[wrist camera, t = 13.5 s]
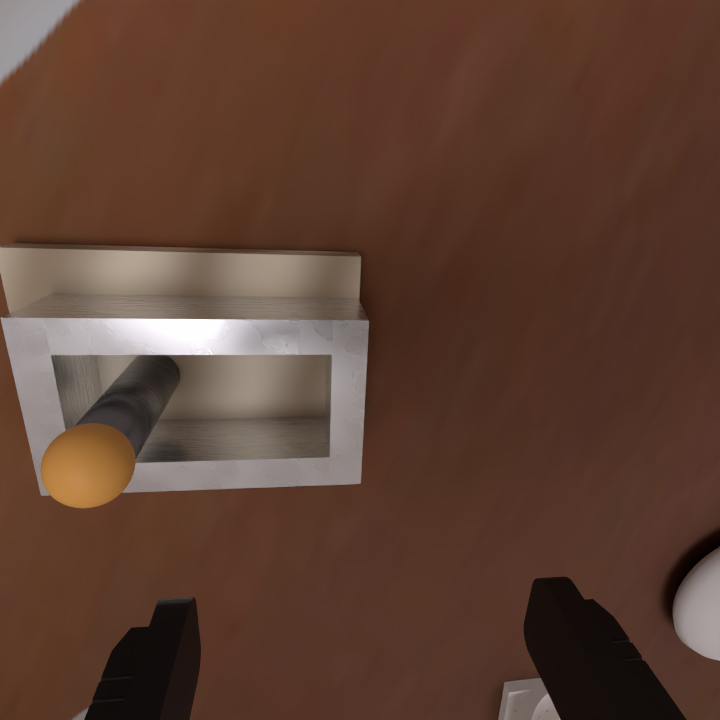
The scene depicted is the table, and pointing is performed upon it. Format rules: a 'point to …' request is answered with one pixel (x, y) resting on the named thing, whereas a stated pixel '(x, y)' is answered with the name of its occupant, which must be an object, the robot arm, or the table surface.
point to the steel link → (198, 337)
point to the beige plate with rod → (172, 372)
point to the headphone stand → (526, 701)
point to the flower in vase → (700, 607)
